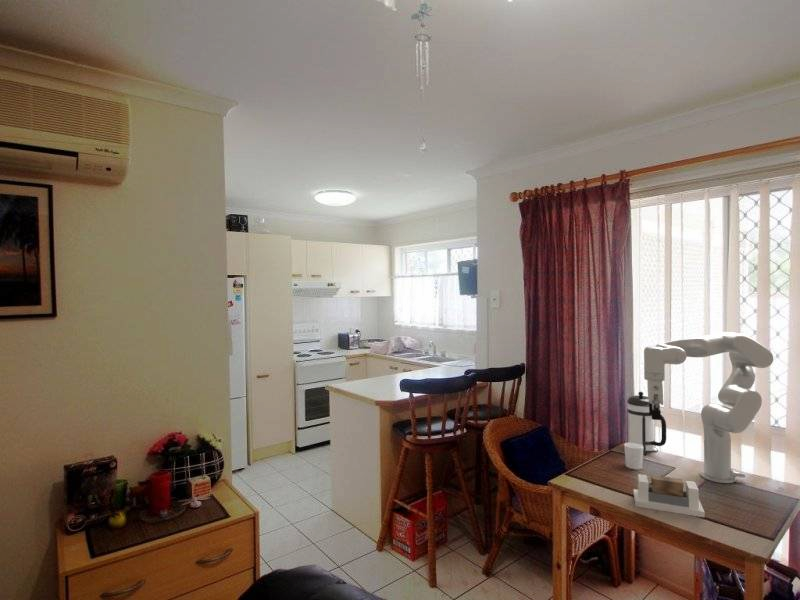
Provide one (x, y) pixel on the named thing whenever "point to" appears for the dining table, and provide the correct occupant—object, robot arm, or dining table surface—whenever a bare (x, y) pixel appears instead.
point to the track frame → (669, 499)
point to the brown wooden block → (666, 485)
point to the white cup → (633, 455)
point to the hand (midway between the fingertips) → (654, 416)
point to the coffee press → (642, 423)
